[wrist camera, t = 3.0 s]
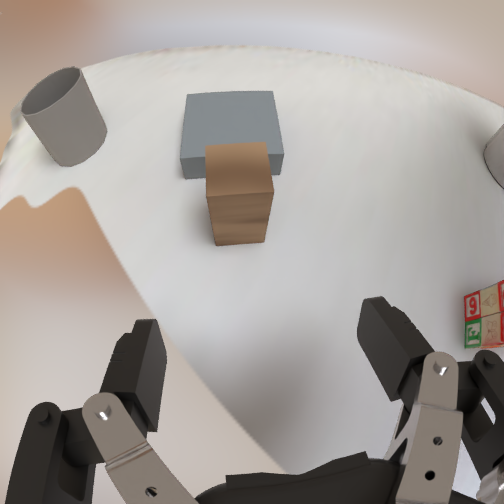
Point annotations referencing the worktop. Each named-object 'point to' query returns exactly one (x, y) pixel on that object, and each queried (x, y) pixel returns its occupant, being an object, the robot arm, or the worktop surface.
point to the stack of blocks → (485, 317)
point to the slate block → (229, 126)
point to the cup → (65, 116)
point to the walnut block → (238, 192)
